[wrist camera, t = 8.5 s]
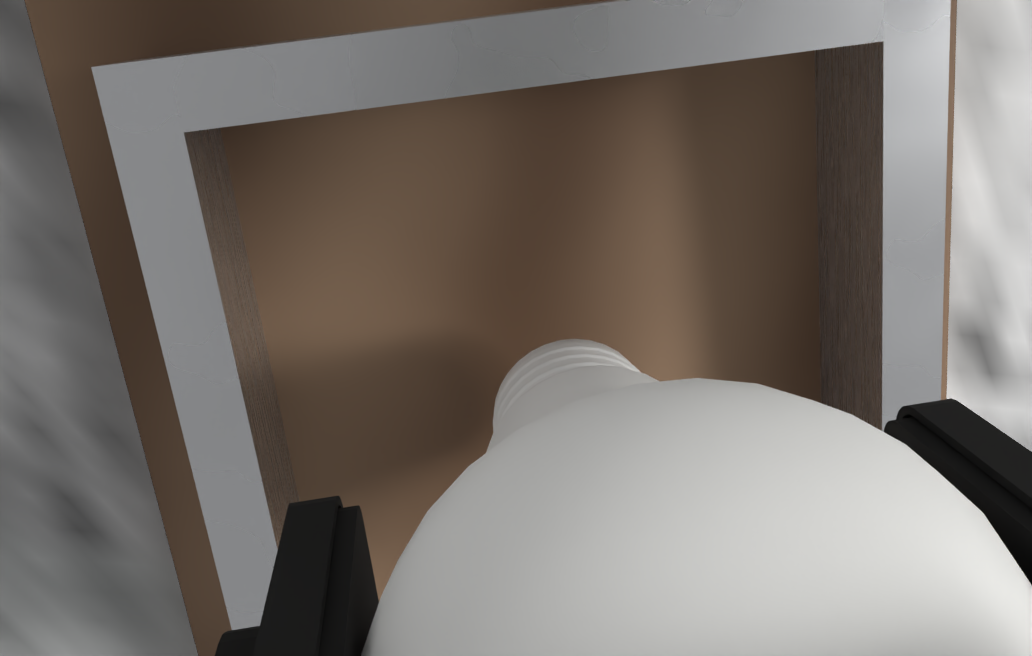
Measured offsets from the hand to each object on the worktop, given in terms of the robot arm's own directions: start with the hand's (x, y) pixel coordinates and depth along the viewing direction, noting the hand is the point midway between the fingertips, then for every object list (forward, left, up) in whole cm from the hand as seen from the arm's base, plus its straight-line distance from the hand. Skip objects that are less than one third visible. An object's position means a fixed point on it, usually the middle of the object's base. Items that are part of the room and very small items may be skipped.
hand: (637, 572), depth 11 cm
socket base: (0, 0, -8) cm, 8 cm away
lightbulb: (0, 0, -6) cm, 6 cm away
